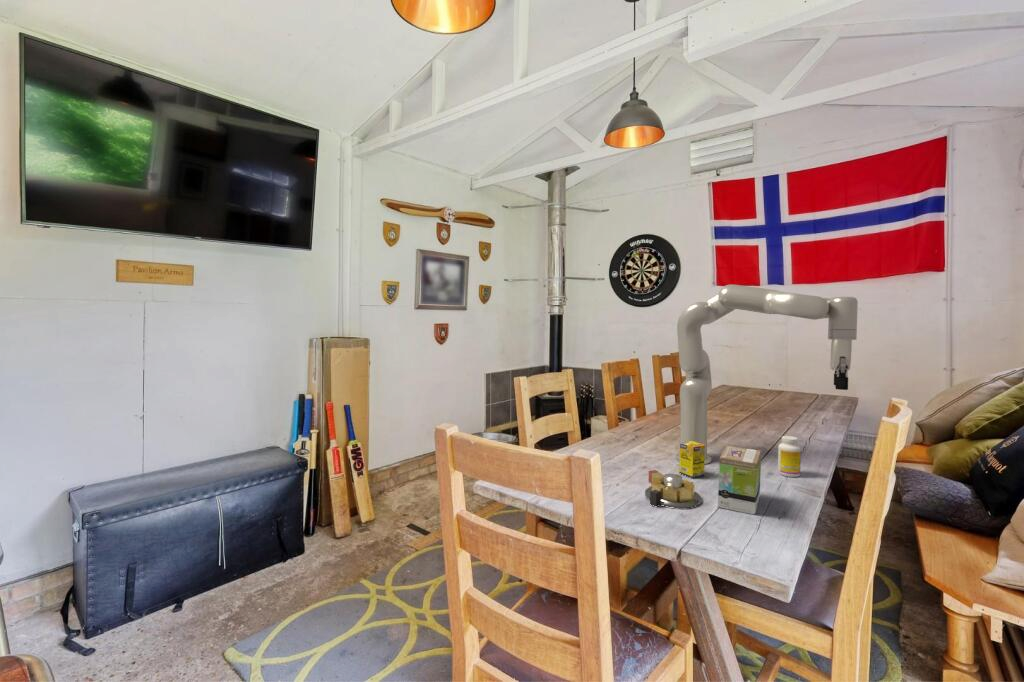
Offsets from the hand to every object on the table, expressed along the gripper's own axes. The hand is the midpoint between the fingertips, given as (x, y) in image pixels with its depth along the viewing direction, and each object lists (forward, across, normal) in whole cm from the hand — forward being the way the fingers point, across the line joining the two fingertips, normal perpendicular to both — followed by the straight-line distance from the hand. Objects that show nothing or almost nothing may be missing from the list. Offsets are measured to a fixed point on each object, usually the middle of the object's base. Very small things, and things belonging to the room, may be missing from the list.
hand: (840, 387), depth 149 cm
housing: (+31, +42, -43) cm, 68 cm away
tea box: (+32, +36, -25) cm, 54 cm away
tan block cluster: (+30, +41, -45) cm, 67 cm away
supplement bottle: (+31, 0, -14) cm, 34 cm away
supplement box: (+32, +18, -42) cm, 56 cm away
